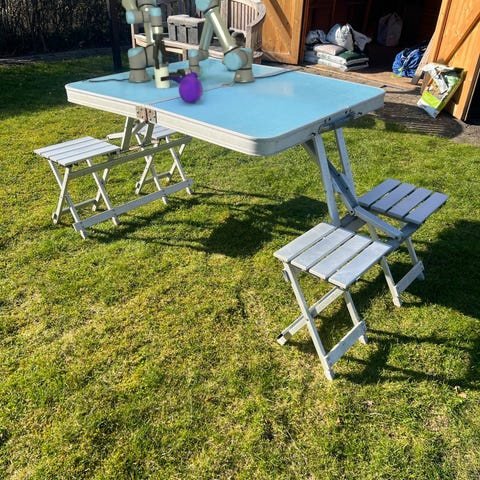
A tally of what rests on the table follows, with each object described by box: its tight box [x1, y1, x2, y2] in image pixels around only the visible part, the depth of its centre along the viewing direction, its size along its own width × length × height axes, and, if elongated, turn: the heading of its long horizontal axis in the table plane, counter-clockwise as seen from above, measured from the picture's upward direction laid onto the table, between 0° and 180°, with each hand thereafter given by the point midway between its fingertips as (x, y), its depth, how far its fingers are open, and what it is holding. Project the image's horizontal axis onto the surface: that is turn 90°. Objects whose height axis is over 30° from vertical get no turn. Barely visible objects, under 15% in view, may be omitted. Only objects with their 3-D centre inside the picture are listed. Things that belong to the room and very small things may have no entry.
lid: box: [152, 61, 170, 68], centre depth 312 cm, size 11×11×2 cm
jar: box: [153, 66, 171, 89], centre depth 316 cm, size 10×10×15 cm
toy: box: [168, 72, 204, 104], centre depth 278 cm, size 16×18×27 cm
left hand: (161, 67), depth 313 cm, fingers closed on lid, 11 cm apart
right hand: (156, 78), depth 314 cm, fingers closed on jar, 10 cm apart
